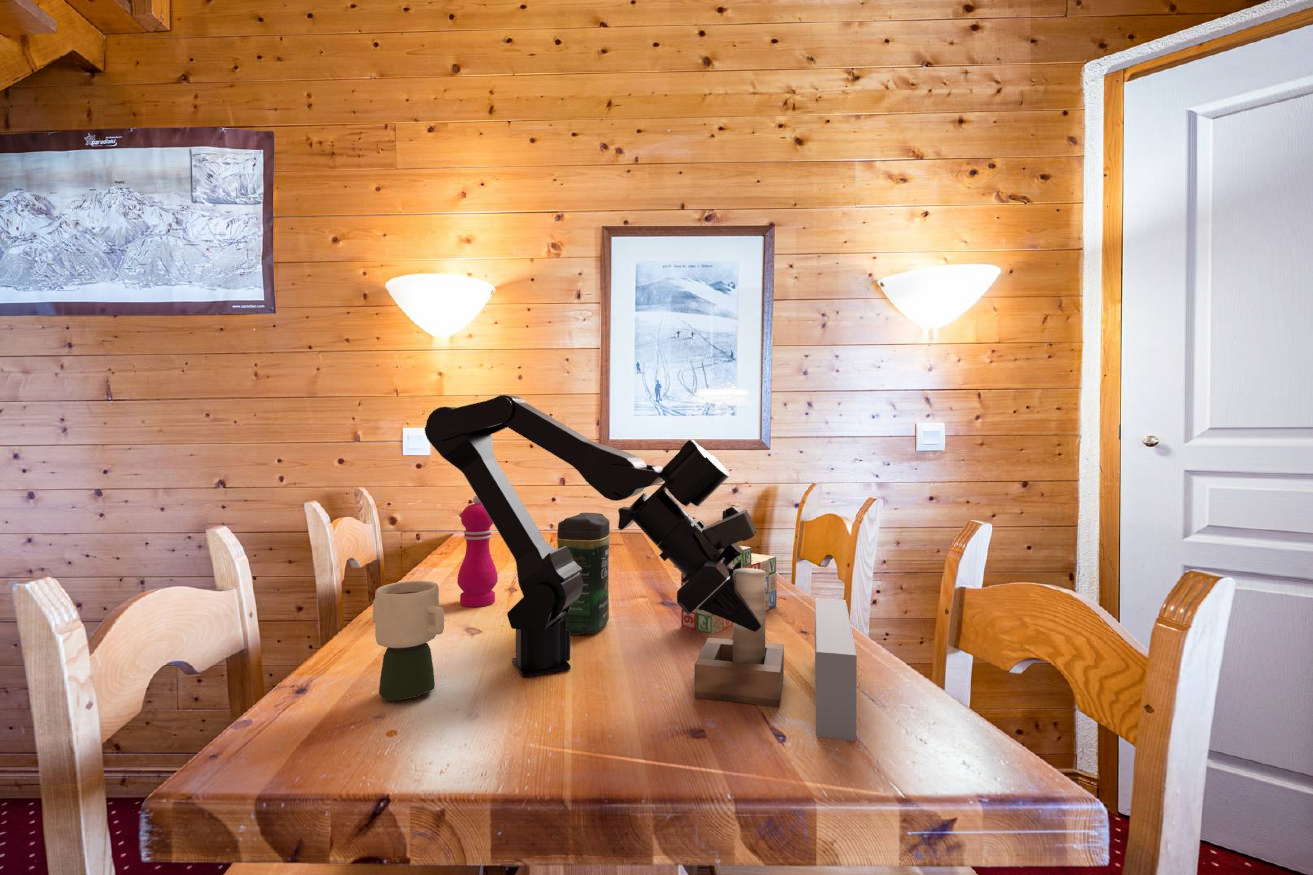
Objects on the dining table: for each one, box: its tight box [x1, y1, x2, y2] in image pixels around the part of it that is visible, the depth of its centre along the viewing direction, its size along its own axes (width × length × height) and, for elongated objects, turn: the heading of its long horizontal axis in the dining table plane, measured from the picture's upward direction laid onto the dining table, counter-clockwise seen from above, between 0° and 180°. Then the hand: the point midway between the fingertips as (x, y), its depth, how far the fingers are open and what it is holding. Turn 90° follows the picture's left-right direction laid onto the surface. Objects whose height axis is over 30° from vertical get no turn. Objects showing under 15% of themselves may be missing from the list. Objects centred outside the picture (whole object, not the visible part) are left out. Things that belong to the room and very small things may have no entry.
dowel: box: [732, 568, 766, 665], centre depth 78 cm, size 4×4×13 cm
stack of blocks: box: [680, 545, 778, 634], centre depth 109 cm, size 21×6×12 cm, turn 141°
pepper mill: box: [456, 495, 499, 608], centre depth 116 cm, size 7×7×20 cm
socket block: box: [693, 637, 785, 708], centre depth 78 cm, size 10×10×4 cm
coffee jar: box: [556, 512, 611, 636], centre depth 102 cm, size 10×8×19 cm
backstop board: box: [814, 597, 858, 742], centre depth 75 cm, size 4×22×9 cm, turn 166°
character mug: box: [372, 580, 445, 701], centre depth 75 cm, size 11×7×13 cm, turn 66°
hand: (760, 623), depth 77 cm, fingers closed on dowel, 4 cm apart
